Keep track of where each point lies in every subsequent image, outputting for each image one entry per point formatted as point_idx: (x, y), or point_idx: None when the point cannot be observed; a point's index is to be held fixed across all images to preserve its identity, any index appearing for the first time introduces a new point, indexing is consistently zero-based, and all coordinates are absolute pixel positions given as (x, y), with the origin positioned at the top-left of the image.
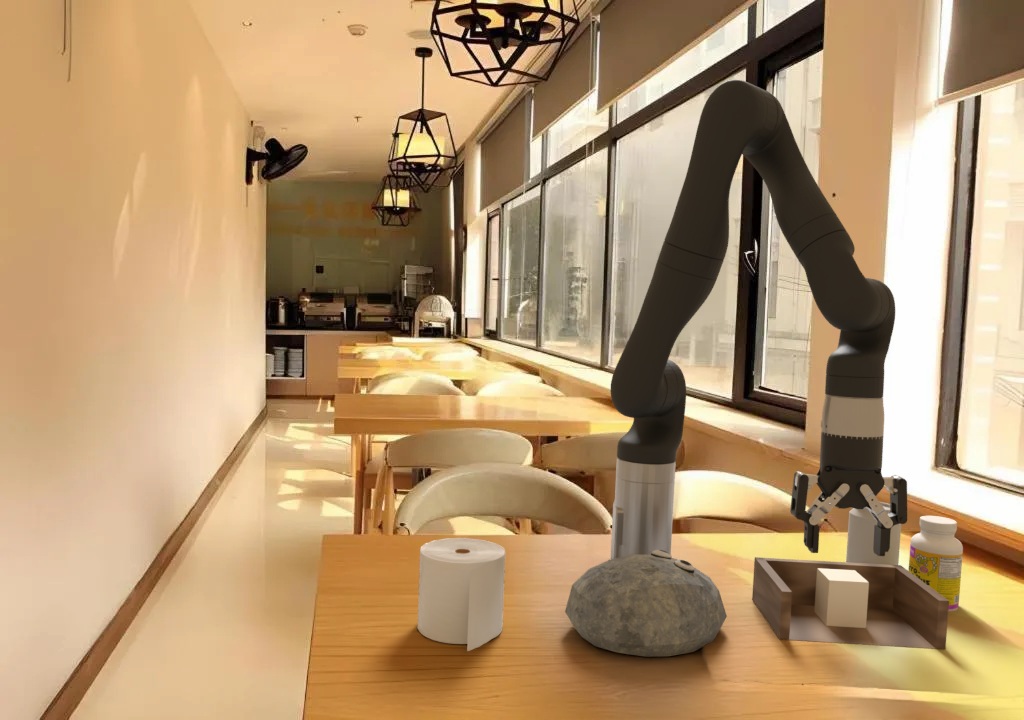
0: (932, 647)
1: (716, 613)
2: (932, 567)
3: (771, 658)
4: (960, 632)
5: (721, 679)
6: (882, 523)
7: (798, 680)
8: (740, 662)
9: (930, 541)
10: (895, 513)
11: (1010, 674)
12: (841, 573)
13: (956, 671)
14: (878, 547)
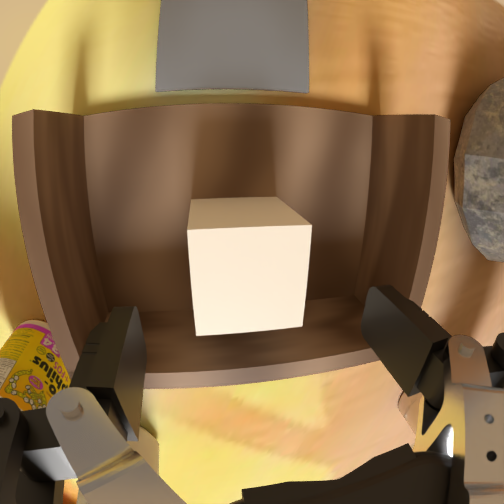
0: (87, 119)
1: (496, 112)
2: (19, 379)
3: (401, 71)
4: (18, 250)
5: (456, 29)
6: (102, 410)
7: (379, 3)
8: (437, 65)
9: None
10: (33, 467)
11: (10, 76)
12: (247, 299)
13: (85, 52)
14: (133, 335)
